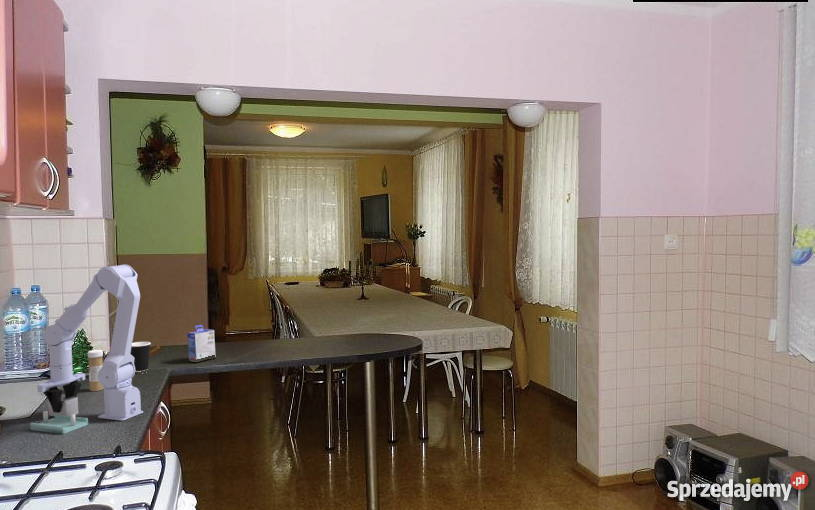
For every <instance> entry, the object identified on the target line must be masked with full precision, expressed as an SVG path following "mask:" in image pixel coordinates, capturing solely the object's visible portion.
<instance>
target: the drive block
mask: <svg viewBox="0 0 815 510" xmlns="http://www.w3.org/2000/svg"><path fill="white" fill-rule="evenodd" d="M78 399H79V397H78V396H76V397H73V396H65V395H63V394H62V395H61V410H60V412H59V413H56V412H53V410H52V407H51V404H50V402H49V400H48V399H47V400H48V401H47V402H48V417H55V415H65V416H70V415H71V414H75V416H76V415H78V414H79V400H78Z"/></svg>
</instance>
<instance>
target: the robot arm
mask: <svg viewBox="0 0 815 510" xmlns="http://www.w3.org/2000/svg"><path fill="white" fill-rule="evenodd" d="M97 271H98V272H97V273H96V274H94V275H93V279H92V281H91V283H90V284H89V285H88V287H87V288H86V289H85V291H84V292H83V294H82V295H81V297H80V298H79V300H78V301H77V302H76V303H73V304H69V305H68V306H65V308H63V310H64V311H63V313H62V314H61V315H60V317H59V318H56V319H55V321H54V322H55V323H54V324H52V325H51V324H50V325H48V326H46V328H45V330H44V332H43V339H44V342H46V343H47V344H48V350H49V354H48V355H49V371H50V379H49V380H47V381H45V382H43V383H41V384H37V385H36V387H37V393H43V394H44V395H45V397H46V398H47V400H49V402H50V404H51V407H52V410H53V412H56V413H59V412H60V410H61V395H63V392H64V396H73V397H78V396H77V395H78V392H79V391H80V389H81V388H82V382H79V381H85V380H86V373H83V372H80V373H75V374H73V372H74V371H73V370H74V369H73V351H72V346H73V341H74V339H75V337H76V331H77V329H79V327H80V326H81V325H82V324H83V322H84V321H85V320H86V319H87V318H88V315H89V314H88V310H89V309H90V307H92V305H93V304H94V303H95V302H96V301H97V300H98V299H99V298H100V296H102V294H104V292H106V291H107V292H109V293H110V294H112V295H113V296H115V298H116V299H117V301H118V304H117V308H116V314H115V319H114V320H115V321H114V327H113V330H112V331H113V332H112V337H111V344H110V349H109V353H108V354H107V356H106V357H105V359H104V360H102V361H103V366H102V368H101V369H100V370H99V372H98V381H99V383H100V384H101V385H102V386H103V388H104V389H103V394H104V395H103V399H104V413H103V414H100V415H98V416H97V418H98V419H104V420H105V419H106V420H112V421H113V420H114V421H125V420H129V419H131V418H133V417H135V416H139V415H141V414H143V413H144V411H143V410H142V404H141V402H142V401H141V392H140V390H139V388H138V387H136V386H133V384H132V379H133V377H134V376H135V375H136V374H135V366H134V359H135V358H134V357H133V356H132V355H131V354H130V352H131V346H132V343H133V341H134V335H135V329H136V323H137V318H138V311H139V307H140V306H139V305H140V300H141V293H140V289H139V283H138V282H137V280H138V273H137V272H136V271H135V269H134V268H133V267H132V266H130V265H129V264H125V263H124V264H120V265H112V266H108V265H105V266H103V267H100V269H99V270H97ZM59 387H62V388H63V389H59Z"/></svg>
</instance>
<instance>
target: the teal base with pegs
mask: <svg viewBox="0 0 815 510" xmlns="http://www.w3.org/2000/svg"><path fill="white" fill-rule="evenodd" d="M42 419H43V420H42V422H41V421H40V422H38V423H36V422H30V425H29V426H30V430H32V431H37V432H44V433H51V434H52V433H53V434H60V435H64V434H67V433H70V432H72V431H75V430H77V429H80V428H82V427H86V426H88V425H89V419H88V417H82V416H81V417H79V416H76V415H75V414H71V415H70V416H65V415H55V416H54V417H53V418H50V419H49V410H44V411H42Z"/></svg>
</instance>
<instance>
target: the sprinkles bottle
mask: <svg viewBox="0 0 815 510" xmlns="http://www.w3.org/2000/svg"><path fill="white" fill-rule="evenodd" d="M103 356H104V353H103V349H92V350H89V351H87V358H88V380H89V391H91V392H96V391H97V392H98V391H103V390H104V388H103V386H102V385H101V384H100V383H99V381H98V372H99V370H100V369H101V368H102V366H103V361H104V360H103Z"/></svg>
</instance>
